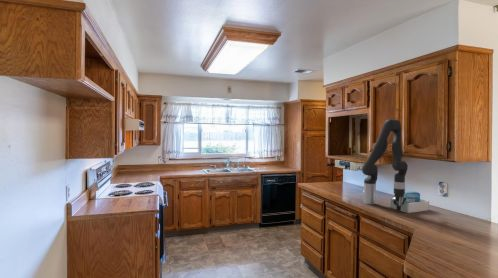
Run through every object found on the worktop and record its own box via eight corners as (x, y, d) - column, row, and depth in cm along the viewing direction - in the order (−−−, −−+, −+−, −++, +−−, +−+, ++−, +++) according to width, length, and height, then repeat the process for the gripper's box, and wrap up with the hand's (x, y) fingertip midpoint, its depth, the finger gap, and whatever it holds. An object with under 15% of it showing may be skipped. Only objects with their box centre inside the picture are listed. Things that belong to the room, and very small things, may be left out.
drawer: (389, 207, 231) (389, 198, 230) (410, 205, 239) (410, 196, 239) (405, 213, 217) (405, 203, 216) (427, 210, 225) (427, 200, 225)
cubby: (391, 207, 232) (392, 199, 231) (411, 205, 240) (412, 196, 239) (408, 212, 218) (408, 203, 217) (428, 210, 226) (429, 201, 226)
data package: (405, 208, 226) (405, 192, 226) (401, 206, 231) (402, 191, 231) (419, 207, 228) (420, 192, 227) (416, 206, 232) (416, 191, 232)
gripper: (397, 189, 212) (396, 212, 213) (410, 188, 217) (409, 210, 218) (388, 187, 219) (388, 210, 220) (401, 186, 224) (400, 208, 225)
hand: (398, 210), depth 219 cm, fingers closed
